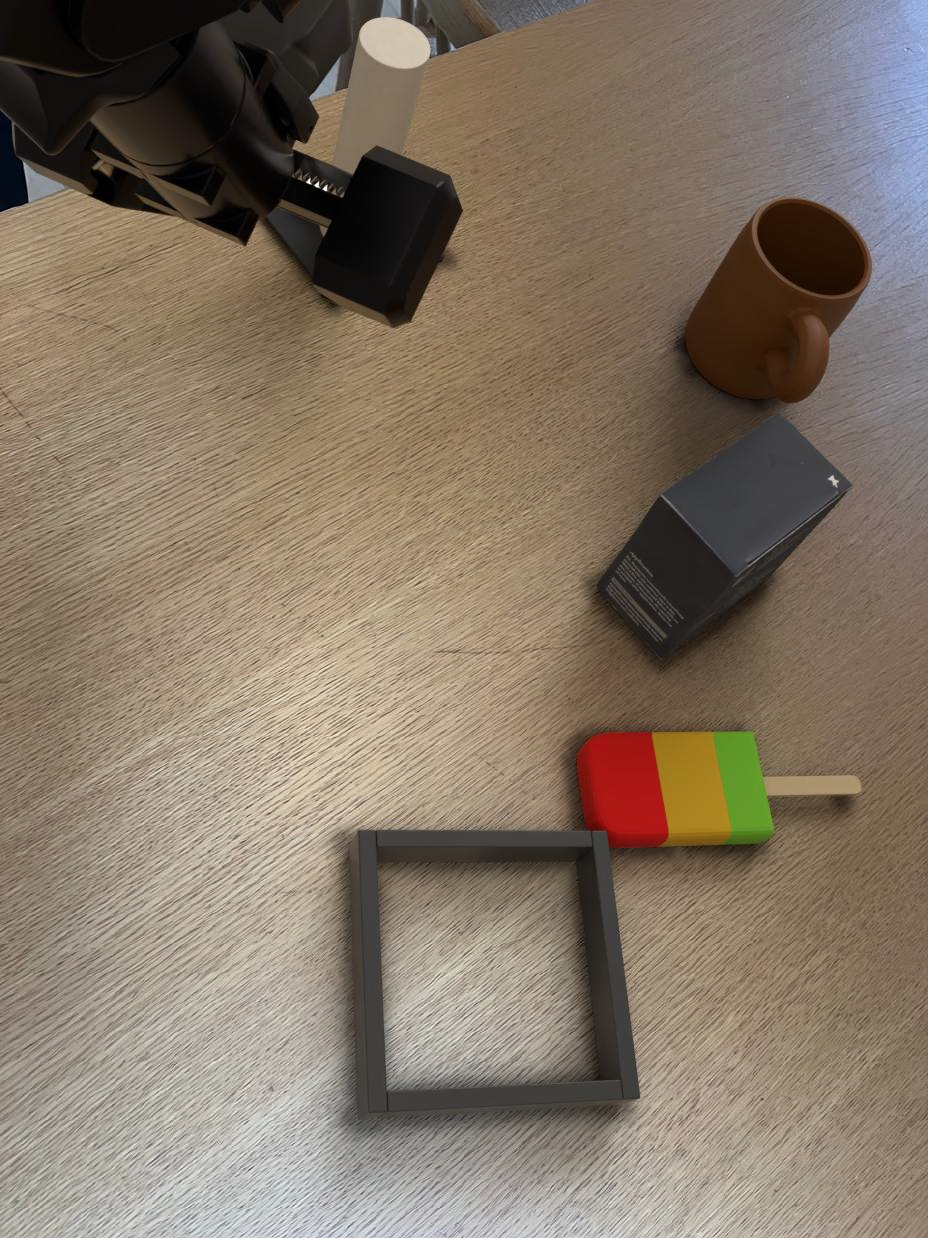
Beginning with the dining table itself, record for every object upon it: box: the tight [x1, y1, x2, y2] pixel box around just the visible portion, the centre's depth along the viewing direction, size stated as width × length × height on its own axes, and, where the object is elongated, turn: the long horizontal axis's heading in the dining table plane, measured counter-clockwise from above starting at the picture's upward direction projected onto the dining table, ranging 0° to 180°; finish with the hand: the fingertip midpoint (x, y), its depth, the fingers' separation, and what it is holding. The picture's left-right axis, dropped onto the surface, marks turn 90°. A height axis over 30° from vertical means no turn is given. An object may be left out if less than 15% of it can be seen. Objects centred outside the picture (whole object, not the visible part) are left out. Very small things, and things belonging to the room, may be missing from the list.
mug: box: [684, 196, 873, 404], centre depth 72 cm, size 12×8×9 cm, turn 177°
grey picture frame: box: [348, 829, 641, 1120], centre depth 55 cm, size 12×12×2 cm
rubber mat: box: [264, 207, 446, 306], centre depth 73 cm, size 8×8×1 cm
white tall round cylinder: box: [306, 16, 432, 237], centre depth 68 cm, size 7×4×13 cm, turn 53°
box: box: [596, 412, 853, 660], centre depth 64 cm, size 9×6×10 cm, turn 131°
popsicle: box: [576, 731, 862, 849], centre depth 62 cm, size 6×15×2 cm, turn 96°
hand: (289, 245), depth 61 cm, fingers open, 9 cm apart
